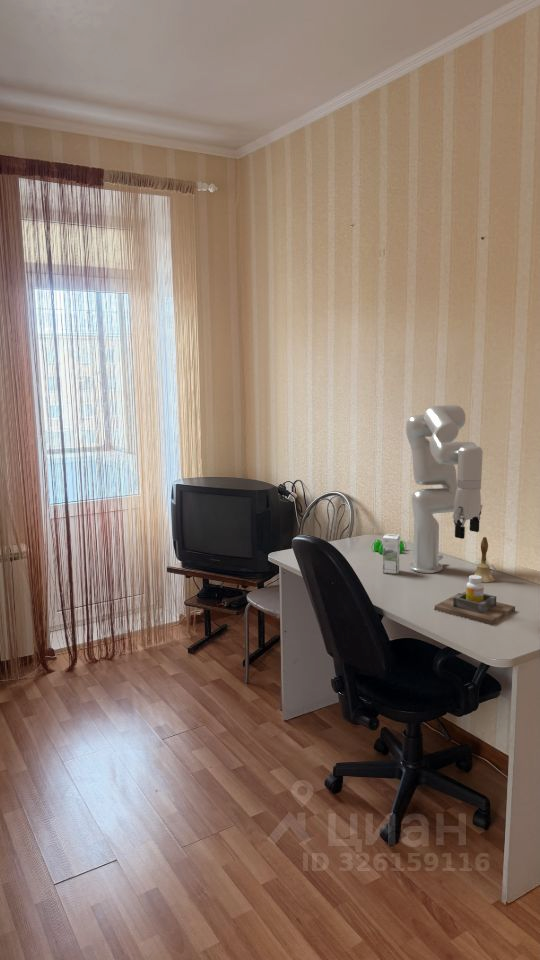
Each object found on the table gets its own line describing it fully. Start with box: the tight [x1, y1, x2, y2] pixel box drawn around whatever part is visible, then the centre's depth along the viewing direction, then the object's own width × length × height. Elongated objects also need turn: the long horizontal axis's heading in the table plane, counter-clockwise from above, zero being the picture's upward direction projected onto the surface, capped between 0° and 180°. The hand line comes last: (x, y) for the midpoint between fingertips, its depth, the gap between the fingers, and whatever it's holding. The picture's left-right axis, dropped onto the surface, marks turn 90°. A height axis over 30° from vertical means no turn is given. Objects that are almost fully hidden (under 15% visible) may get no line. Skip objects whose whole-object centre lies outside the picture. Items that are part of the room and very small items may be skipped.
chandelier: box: [371, 539, 407, 555], centre depth 297 cm, size 15×15×7 cm
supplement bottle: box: [465, 574, 485, 603], centre depth 225 cm, size 5×5×10 cm
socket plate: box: [434, 591, 516, 626], centre depth 225 cm, size 16×20×4 cm
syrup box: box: [382, 533, 401, 575], centre depth 267 cm, size 6×6×14 cm
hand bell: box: [473, 536, 496, 584], centre depth 255 cm, size 8×8×16 cm
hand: (467, 534), depth 229 cm, fingers open, 9 cm apart
